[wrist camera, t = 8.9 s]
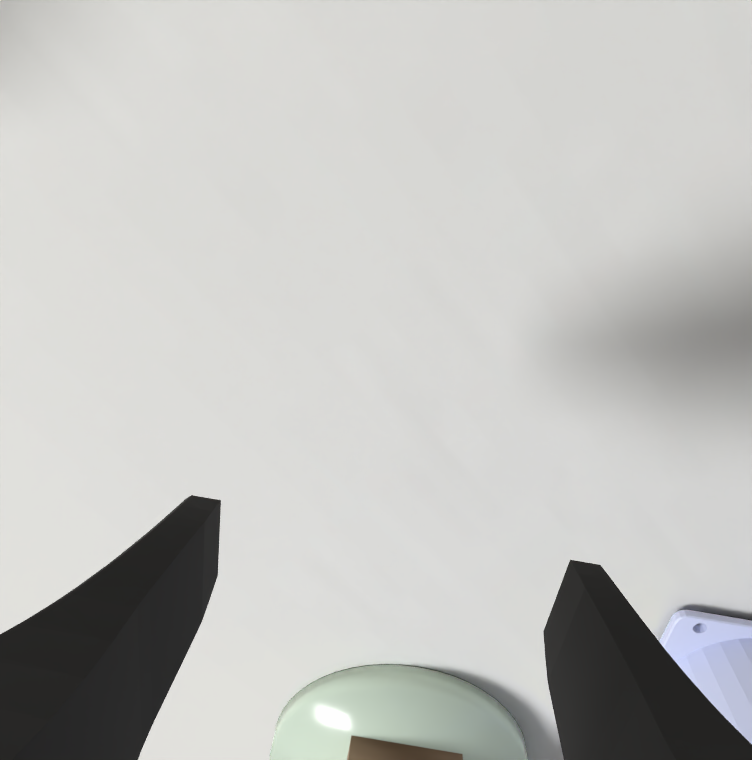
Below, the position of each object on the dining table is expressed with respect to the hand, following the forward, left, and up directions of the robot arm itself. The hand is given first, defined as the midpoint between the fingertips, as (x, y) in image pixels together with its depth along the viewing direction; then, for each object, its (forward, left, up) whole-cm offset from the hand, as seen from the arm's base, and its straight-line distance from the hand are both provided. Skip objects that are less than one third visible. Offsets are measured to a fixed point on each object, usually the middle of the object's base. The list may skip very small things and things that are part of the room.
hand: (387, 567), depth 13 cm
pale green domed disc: (-3, +20, -9) cm, 22 cm away
